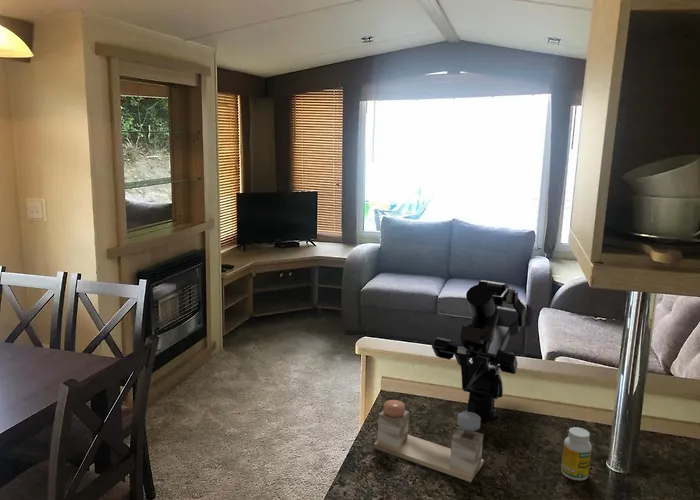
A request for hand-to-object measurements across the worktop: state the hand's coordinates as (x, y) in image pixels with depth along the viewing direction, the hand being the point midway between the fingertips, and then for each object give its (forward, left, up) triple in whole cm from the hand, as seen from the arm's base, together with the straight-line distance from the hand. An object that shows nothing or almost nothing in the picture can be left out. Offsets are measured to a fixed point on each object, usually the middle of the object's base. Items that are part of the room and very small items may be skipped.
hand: (464, 389), depth 125 cm
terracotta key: (+12, -9, -8) cm, 17 cm away
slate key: (+6, +7, -6) cm, 11 cm away
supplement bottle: (-11, +21, -14) cm, 28 cm away
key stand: (+9, -1, -14) cm, 16 cm away
